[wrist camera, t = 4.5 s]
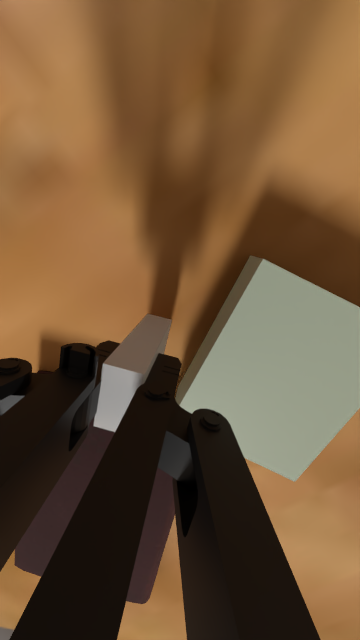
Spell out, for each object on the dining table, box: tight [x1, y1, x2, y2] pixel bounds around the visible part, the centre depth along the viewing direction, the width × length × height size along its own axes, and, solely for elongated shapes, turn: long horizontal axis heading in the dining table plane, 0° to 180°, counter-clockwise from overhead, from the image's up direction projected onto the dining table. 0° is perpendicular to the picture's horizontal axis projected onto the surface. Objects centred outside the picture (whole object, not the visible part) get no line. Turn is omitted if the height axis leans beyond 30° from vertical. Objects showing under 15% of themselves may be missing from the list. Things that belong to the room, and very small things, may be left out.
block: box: [175, 255, 360, 482], centre depth 15 cm, size 10×8×4 cm
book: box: [15, 371, 175, 604], centre depth 20 cm, size 12×19×3 cm, turn 167°
